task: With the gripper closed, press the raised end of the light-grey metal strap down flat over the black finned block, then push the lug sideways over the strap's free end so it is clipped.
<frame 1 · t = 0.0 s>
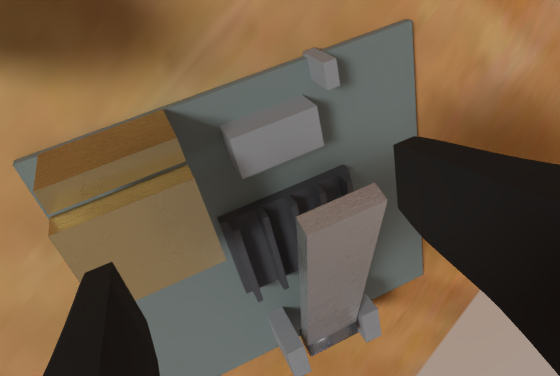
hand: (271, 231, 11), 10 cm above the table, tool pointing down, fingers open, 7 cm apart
clip base: (272, 230, 24), on the table
strap: (332, 289, 21), point 5 cm above the table, hinge at 22.0°
lug: (133, 208, 18), point 3 cm above the table, slide at 0.0 cm
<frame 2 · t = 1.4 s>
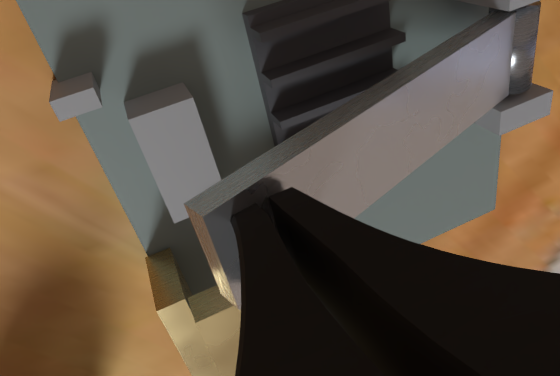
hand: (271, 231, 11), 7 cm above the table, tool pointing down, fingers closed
clip base: (326, 108, 18), on the table
strap: (403, 124, 14), point 5 cm above the table, hinge at 19.0°, touching gripper
lug: (238, 309, 18), point 3 cm above the table, slide at 0.0 cm
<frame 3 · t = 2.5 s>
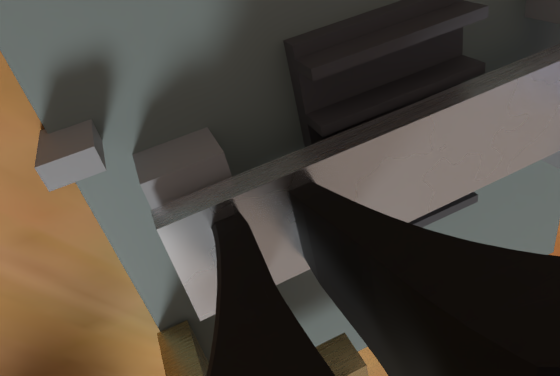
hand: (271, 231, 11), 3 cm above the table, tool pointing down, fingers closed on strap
clip base: (375, 150, 15), on the table
strap: (430, 156, 12), point 3 cm above the table, hinge at 1.1°, touching gripper
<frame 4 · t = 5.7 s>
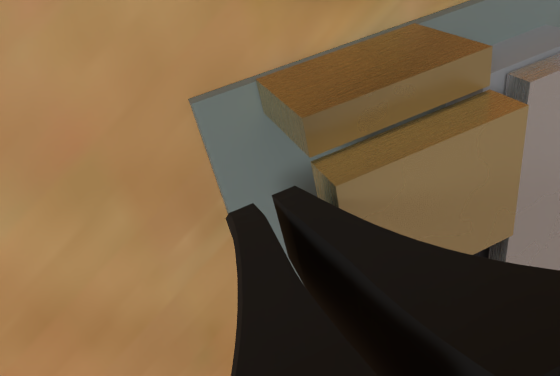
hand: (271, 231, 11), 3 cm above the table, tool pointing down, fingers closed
clip base: (458, 213, 19), on the table
strap: (528, 242, 17), point 3 cm above the table, hinge at 1.1°
lug: (387, 158, 12), point 3 cm above the table, slide at 0.8 cm, touching gripper
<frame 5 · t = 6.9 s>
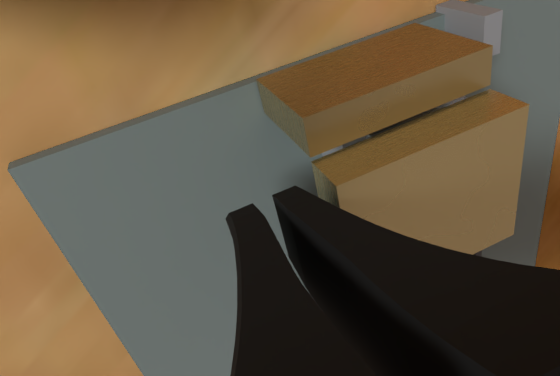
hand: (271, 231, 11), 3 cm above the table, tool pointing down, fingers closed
clip base: (361, 259, 18), on the table
strap: (424, 295, 16), point 3 cm above the table, hinge at 1.1°
lug: (387, 158, 12), point 3 cm above the table, slide at 5.5 cm, touching gripper
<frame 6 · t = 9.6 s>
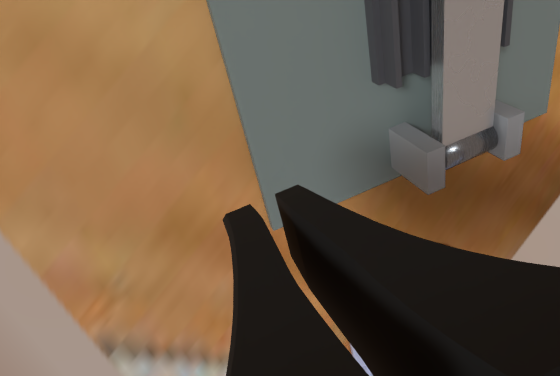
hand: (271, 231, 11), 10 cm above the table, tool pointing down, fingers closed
clip base: (409, 10, 21), on the table
strap: (467, 17, 19), point 3 cm above the table, hinge at 1.1°
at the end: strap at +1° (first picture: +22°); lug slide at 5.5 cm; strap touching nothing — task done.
